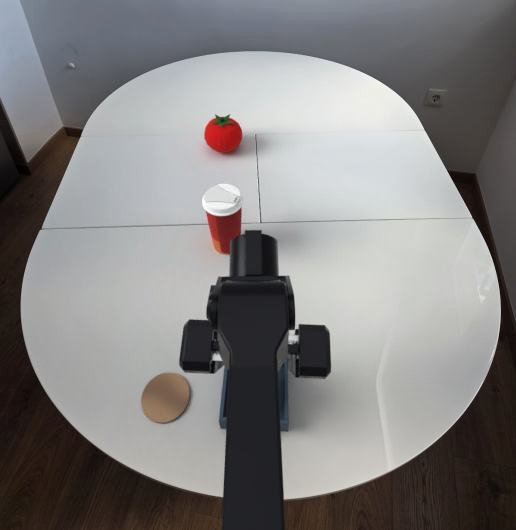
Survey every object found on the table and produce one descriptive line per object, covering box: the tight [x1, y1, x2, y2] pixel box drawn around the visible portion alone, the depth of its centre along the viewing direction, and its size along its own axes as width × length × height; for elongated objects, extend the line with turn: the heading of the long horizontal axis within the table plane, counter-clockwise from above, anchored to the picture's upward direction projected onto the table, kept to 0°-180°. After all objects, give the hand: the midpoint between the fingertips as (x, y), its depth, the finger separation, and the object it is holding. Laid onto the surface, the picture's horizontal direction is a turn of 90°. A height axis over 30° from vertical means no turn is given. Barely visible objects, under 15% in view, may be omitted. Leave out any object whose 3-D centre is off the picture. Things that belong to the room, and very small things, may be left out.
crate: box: [218, 358, 289, 432], centre depth 71 cm, size 11×11×4 cm
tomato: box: [203, 114, 243, 154], centre depth 117 cm, size 10×10×10 cm
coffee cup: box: [201, 183, 244, 255], centre depth 90 cm, size 8×8×15 cm
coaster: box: [140, 372, 191, 424], centre depth 72 cm, size 8×8×1 cm
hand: (256, 360), depth 62 cm, fingers open, 9 cm apart
